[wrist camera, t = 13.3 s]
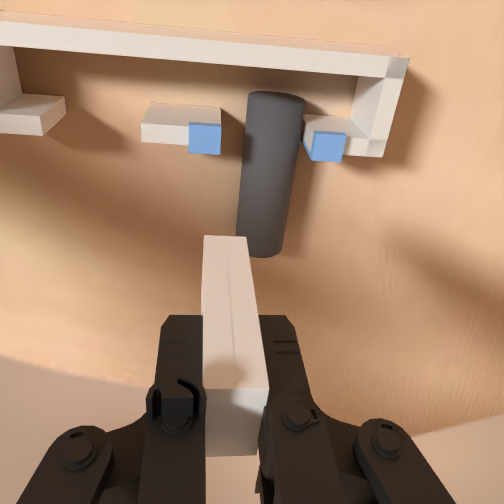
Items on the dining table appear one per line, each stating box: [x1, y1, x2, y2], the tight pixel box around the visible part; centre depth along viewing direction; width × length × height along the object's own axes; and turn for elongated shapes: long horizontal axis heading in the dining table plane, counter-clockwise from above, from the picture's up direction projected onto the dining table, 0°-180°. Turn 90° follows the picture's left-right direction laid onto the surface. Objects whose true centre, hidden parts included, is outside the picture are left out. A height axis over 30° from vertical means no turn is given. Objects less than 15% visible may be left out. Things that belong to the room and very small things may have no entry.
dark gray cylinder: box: [236, 91, 306, 258], centre depth 32 cm, size 12×4×4 cm, turn 174°
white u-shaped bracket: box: [0, 11, 409, 162], centre depth 27 cm, size 26×6×6 cm, turn 85°
